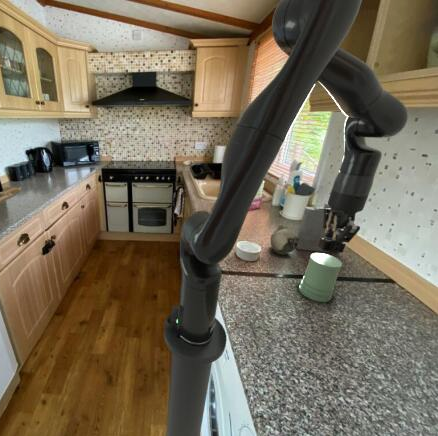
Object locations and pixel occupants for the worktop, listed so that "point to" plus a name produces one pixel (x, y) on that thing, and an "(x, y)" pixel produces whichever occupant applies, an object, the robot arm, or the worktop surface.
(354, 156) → the robot arm
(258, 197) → the candy bar box
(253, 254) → the ramekin
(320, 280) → the cup stack
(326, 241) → the binder clip
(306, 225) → the hip flask
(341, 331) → the worktop surface
